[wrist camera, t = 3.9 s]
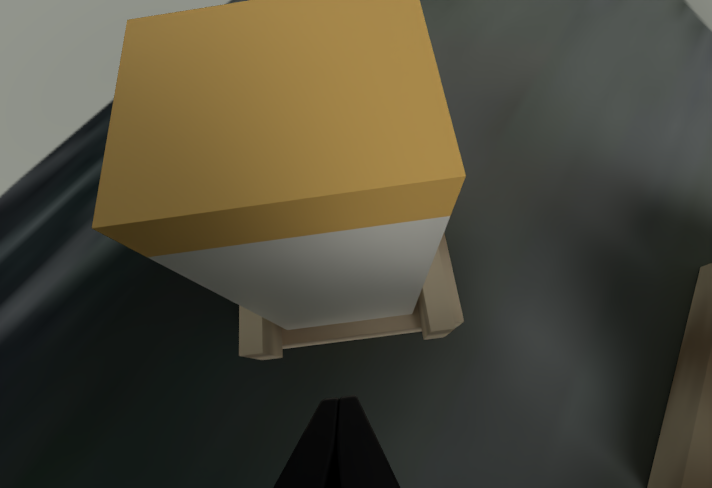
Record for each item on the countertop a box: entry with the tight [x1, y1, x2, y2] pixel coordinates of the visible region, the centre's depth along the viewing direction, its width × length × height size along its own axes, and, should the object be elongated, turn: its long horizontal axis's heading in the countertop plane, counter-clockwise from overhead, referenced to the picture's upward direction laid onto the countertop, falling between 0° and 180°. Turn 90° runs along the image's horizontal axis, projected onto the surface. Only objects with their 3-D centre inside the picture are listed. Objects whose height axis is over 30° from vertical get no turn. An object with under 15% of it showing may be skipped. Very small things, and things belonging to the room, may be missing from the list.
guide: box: [239, 233, 464, 360], centre depth 15 cm, size 10×9×6 cm
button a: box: [92, 0, 466, 330], centre depth 10 cm, size 4×5×10 cm
